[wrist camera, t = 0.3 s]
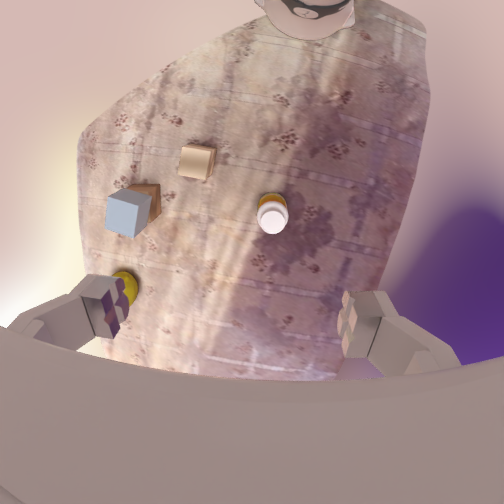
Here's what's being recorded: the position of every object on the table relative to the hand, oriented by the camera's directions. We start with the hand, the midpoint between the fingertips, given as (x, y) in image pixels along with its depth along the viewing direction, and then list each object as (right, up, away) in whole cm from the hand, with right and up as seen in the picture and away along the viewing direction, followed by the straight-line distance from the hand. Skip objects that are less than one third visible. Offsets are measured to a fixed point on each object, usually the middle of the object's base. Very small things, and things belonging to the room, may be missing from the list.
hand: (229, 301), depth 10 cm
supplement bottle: (+5, +11, +45) cm, 46 cm away
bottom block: (-21, +13, +45) cm, 51 cm away
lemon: (-29, -6, +55) cm, 62 cm away
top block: (-21, +10, +40) cm, 46 cm away
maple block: (-9, +19, +41) cm, 46 cm away
